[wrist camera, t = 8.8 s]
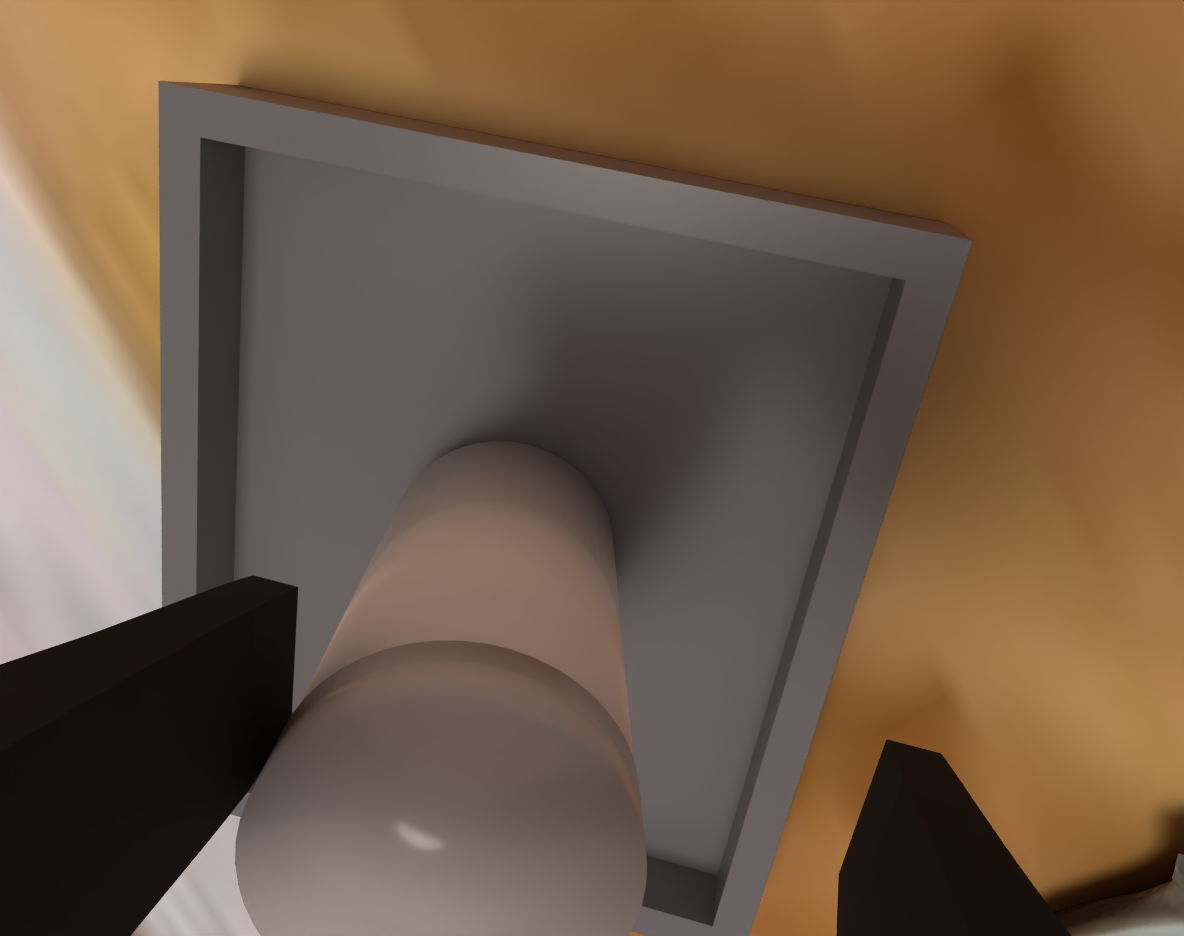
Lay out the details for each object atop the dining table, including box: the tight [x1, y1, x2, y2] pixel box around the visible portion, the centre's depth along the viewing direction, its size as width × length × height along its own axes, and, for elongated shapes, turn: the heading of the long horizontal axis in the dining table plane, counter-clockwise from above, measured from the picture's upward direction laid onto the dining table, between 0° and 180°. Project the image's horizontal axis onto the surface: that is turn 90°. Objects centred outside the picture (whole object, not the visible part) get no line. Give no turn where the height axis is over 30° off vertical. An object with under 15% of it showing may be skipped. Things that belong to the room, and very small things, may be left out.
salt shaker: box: [235, 441, 647, 936], centre depth 15 cm, size 5×5×9 cm
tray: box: [159, 81, 973, 936], centre depth 20 cm, size 14×16×2 cm
